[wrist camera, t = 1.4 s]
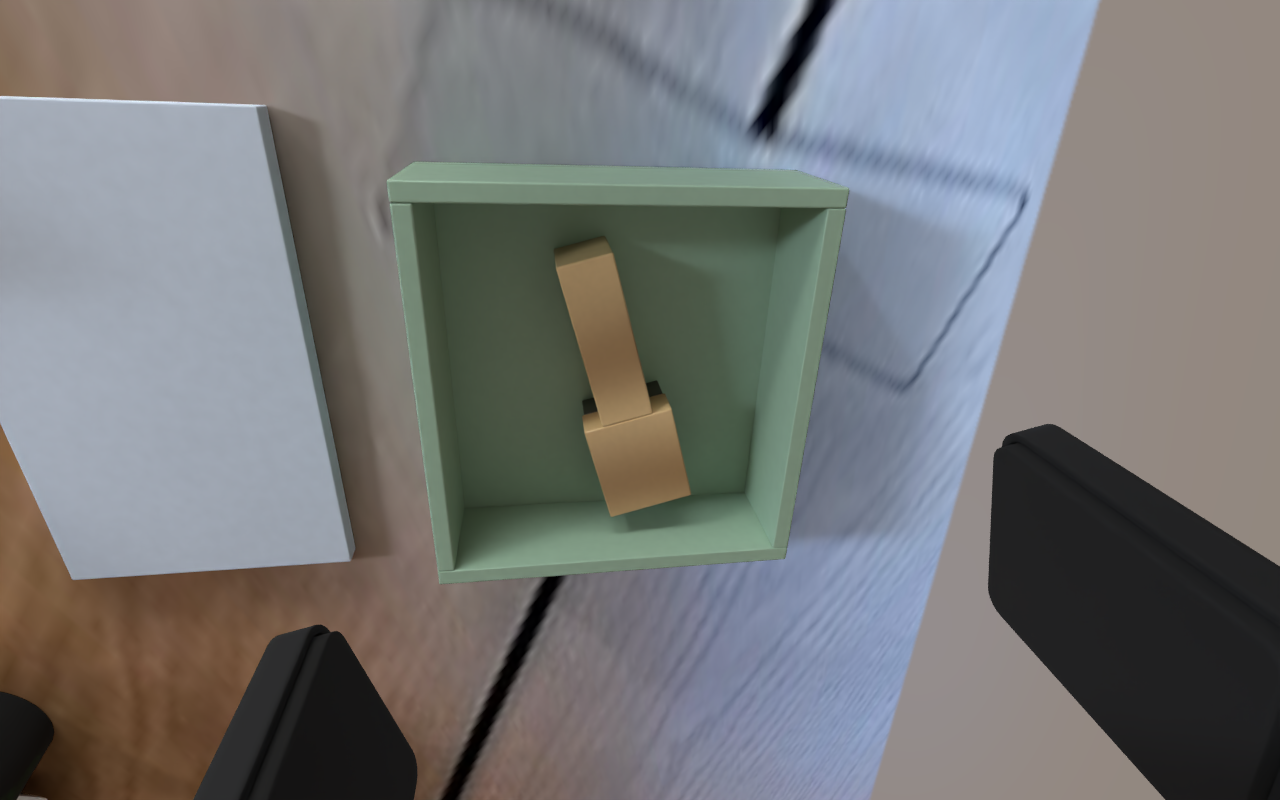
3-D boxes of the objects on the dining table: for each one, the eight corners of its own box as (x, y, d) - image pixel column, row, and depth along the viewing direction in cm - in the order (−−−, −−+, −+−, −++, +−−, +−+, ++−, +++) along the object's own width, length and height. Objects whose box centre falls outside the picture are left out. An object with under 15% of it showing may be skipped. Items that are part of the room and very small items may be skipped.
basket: (412, 161, 24) (385, 179, 20) (796, 169, 27) (850, 188, 22) (452, 512, 32) (439, 584, 27) (752, 495, 34) (785, 559, 29)
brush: (533, 253, 26) (534, 273, 23) (624, 229, 26) (634, 246, 24) (604, 481, 31) (610, 517, 29) (678, 460, 32) (692, 495, 29)
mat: (-125, 91, 21) (-153, 92, 20) (266, 104, 23) (256, 106, 22) (85, 565, 30) (71, 580, 29) (356, 548, 32) (350, 561, 31)
